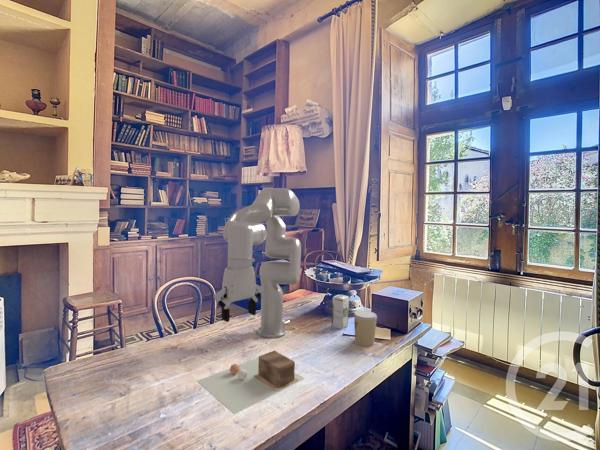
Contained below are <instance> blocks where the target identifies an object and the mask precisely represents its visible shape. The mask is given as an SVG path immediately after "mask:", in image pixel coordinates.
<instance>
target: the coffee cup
mask: <svg viewBox="0 0 600 450" xmlns="http://www.w3.org/2000/svg"><path fill="white" fill-rule="evenodd" d="M353 317H354V321H353V322H354V342H355V343H356V345H359V346H362V347H372V346H374V344H375V339H376V338H375V337H376V328H377V319H378V316H377V314H376V313H375V312H372V311H369V310H357V311H355V313H353Z"/></svg>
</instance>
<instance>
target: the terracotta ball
mask: <svg viewBox="0 0 600 450" xmlns="http://www.w3.org/2000/svg"><path fill="white" fill-rule="evenodd" d="M238 365H239V364H237V363H233V364H231V365H230V366H229V367H230V368H229V369H230V372H231V373H232V374H237V373H238V371H239V366H238Z"/></svg>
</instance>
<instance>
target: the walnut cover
mask: <svg viewBox="0 0 600 450" xmlns="http://www.w3.org/2000/svg"><path fill="white" fill-rule="evenodd" d="M258 358H259V367H258V375H259V376H261V377H262V378H264V379H265V380H267V381H268V382H270V383H271V384H273V385H274V386H276V387H278V388H280V387H282V386H284V385H286V384H288V383H290V382H292V381H294V372H295V370H296V369H295V368H296V367H295V366H296V363H295V361H294V360H293V359H290V358H289V357H287V356H285V355H283V354H281V353H279V352H277V351H276V350H273V351H270V352H267V353H264V354H262V355H259V356H258ZM295 373H296V372H295Z"/></svg>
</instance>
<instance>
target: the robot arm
mask: <svg viewBox="0 0 600 450" xmlns="http://www.w3.org/2000/svg"><path fill="white" fill-rule="evenodd" d="M300 206H301V205H300V200H299V199H298V197H297V195H296V194H295V192H293V191H292V190H291V189H290V188H286V187H285V188H283V187H277V188H275V187H270V188H269V187H266V188H263V189H262V190H260V191H259V193H258V194H257V196H256V198H255V200H254V201H253V202H252V204H250V205H247V206H245V207H243V208H241V209H238V210H237V211H235V212H233V213H232V214H231V215H230V216H229V218H228V219H227V220H226V223H225V225H224V227H223V230H222V237H223V239H224V241H225V242H227V267H225V268H224V272H223V277H222V284H221V285H222V286H221V289H220V290H219V291H218V292H216V293H215V294H214V295H213V298H214V300H215V301H216V305H218V306H219V307H220V308H221V314H220V315H221V319H222V320H223V321H224V322H226V323H229V322H230V316H231V315H230V308H229V307H230V305H231V304H232V303H233V302H237V301H238V302H239V301H243V300H246V299H249V300H248V305H247V307H248V313H249V314H250V315H252V316H256V314H257V311H256V310H257V302H259V298H260V297H261V298H260V306H261V307H260V326H259V328H258V329H257V330H256V333H257V335H258V336H259V337H262V338H265V339H266V338H267V339H276V338H281V337H283V336H284V335H286V333H287V330H286V328H285V327H286V326H288V325H291V320H289V319H288V320H285V319H284V318H283V317H284V315H283V313H284V312H283V311H284V292H283V290H282V287H281V286H280V285H290V286H292V285H297V284H299V283H298V282H299V281H300V277H301V276H300V275H301V261H302V260H301V259H302V244H301V240H299V238H297V237H291V236H290V237H286V233H287V232H286V231H287V226H286V224H285V222H284V220H283V219H282V218H281V217H295V216H297V215H299V211H300V209H301V208H300ZM264 223H265V224H266V225H264ZM264 242H265V247H264V248H265V255H266V256H267V257H268V258H270V259H280V260H281V259H282V260H284V259H285V260H289V261H275V260H269V261H265V262H263V263H261V265H260V266H259V279H260V285H259V284H257V281H256V272H255V267H254V266H253V263H254V262H256V259H255V258H254V257H253V246H259V245H261V244H263V243H264Z"/></svg>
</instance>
